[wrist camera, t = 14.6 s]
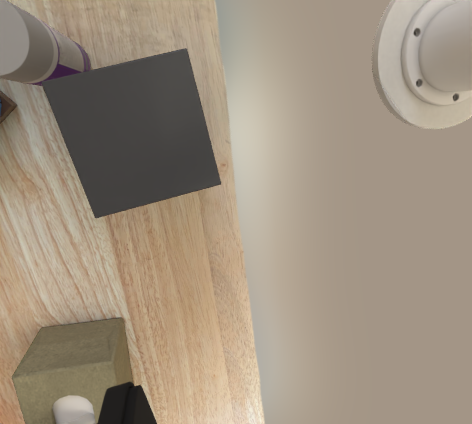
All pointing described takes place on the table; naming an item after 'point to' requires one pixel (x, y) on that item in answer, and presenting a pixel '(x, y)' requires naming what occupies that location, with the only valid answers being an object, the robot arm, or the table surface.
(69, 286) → the table surface
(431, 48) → the robot arm
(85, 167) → the pedestal
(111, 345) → the tissue box
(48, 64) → the container
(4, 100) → the stand
